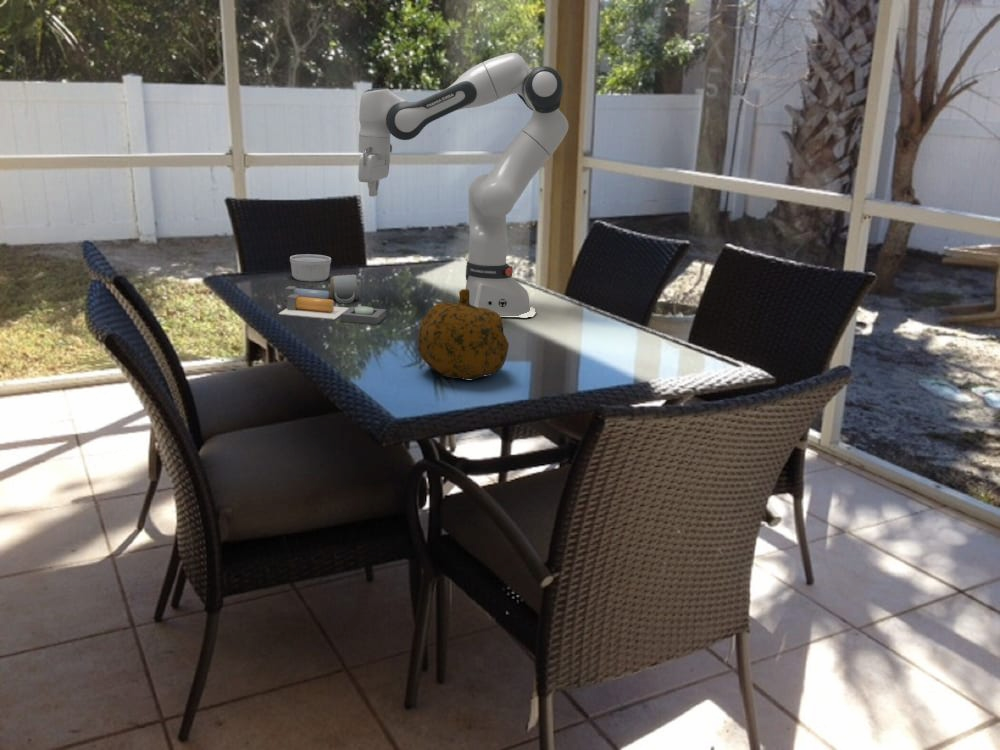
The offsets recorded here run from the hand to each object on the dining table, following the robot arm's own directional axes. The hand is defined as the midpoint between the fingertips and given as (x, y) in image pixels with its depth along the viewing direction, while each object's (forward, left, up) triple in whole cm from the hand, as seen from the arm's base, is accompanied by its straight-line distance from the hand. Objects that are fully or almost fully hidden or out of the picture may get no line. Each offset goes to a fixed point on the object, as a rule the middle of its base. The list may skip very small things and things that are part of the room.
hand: (373, 196), depth 273 cm
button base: (-4, +22, -31) cm, 38 cm away
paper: (+11, +19, -31) cm, 38 cm away
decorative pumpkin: (-39, +64, -31) cm, 81 cm away
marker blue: (+17, +7, -31) cm, 36 cm away
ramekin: (+27, -25, -31) cm, 48 cm away
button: (-4, +22, -30) cm, 38 cm away
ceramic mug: (+7, +1, -31) cm, 32 cm away
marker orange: (+12, +19, -31) cm, 38 cm away
